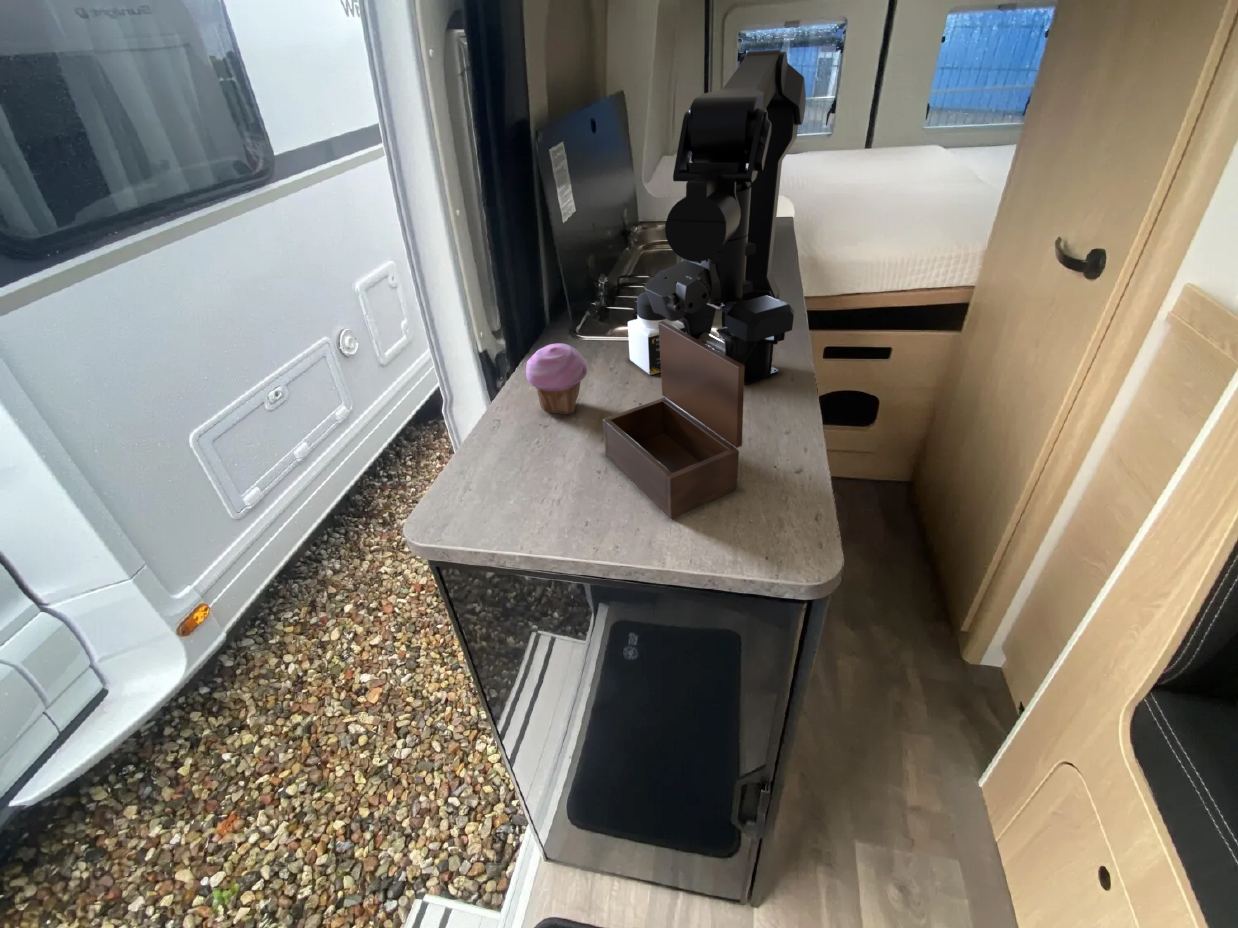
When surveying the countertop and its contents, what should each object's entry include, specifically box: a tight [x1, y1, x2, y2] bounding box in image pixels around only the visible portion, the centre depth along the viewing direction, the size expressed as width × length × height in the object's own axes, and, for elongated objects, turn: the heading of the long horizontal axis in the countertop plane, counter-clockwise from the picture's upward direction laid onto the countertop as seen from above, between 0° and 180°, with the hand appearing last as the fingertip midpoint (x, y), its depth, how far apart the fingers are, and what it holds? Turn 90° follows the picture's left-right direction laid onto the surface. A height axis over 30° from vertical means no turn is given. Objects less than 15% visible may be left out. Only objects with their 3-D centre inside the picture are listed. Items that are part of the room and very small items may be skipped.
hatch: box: [658, 321, 745, 449], centre depth 73 cm, size 10×16×4 cm
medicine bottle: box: [627, 291, 687, 376], centre depth 100 cm, size 7×7×12 cm
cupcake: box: [525, 342, 588, 415], centre depth 90 cm, size 9×9×10 cm
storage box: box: [602, 396, 740, 519], centre depth 76 cm, size 10×16×6 cm, turn 30°
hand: (714, 369), depth 73 cm, fingers closed on hatch, 6 cm apart
